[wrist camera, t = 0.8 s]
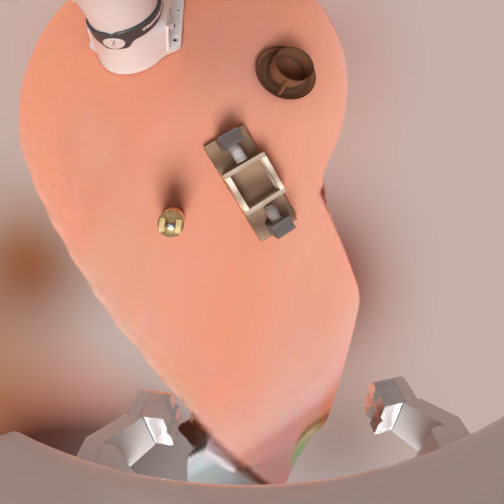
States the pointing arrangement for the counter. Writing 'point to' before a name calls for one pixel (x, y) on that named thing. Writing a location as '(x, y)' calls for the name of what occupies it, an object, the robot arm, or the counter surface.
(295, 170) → the counter surface
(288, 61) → the cup and saucer
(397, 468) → the robot arm
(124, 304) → the counter surface
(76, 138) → the counter surface
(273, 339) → the counter surface
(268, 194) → the shaft stand
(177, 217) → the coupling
